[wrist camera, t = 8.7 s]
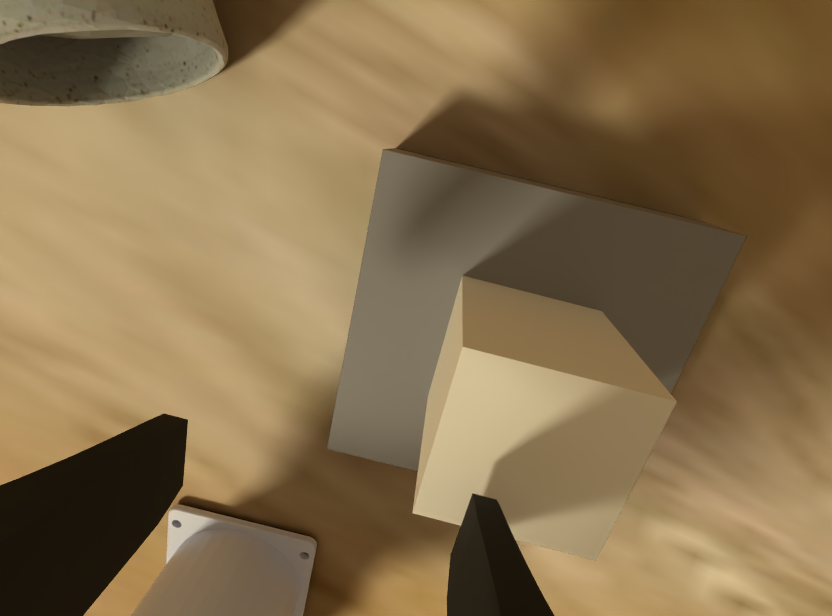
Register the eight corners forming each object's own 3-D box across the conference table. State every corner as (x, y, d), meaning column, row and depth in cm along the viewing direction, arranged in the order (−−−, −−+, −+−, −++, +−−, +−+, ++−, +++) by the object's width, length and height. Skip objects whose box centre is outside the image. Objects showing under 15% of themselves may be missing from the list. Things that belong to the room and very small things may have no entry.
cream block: (553, 428, 18) (596, 560, 12) (427, 396, 18) (412, 513, 12) (601, 311, 16) (677, 401, 10) (462, 275, 16) (462, 346, 11)
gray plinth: (591, 470, 22) (610, 518, 19) (344, 409, 22) (326, 449, 19) (701, 221, 18) (746, 236, 15) (395, 148, 18) (382, 149, 15)
